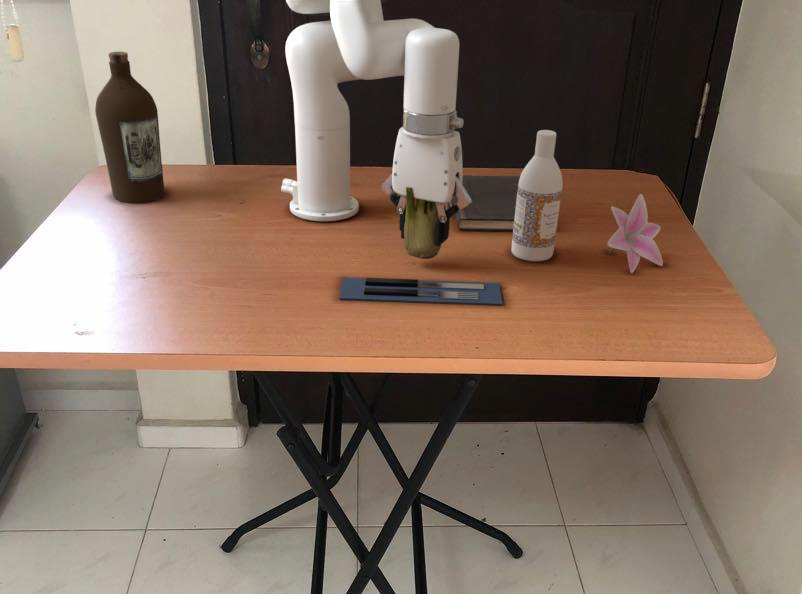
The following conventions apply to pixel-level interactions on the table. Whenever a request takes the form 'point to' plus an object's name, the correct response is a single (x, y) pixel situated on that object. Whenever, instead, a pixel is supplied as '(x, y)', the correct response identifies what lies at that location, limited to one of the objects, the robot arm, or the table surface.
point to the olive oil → (129, 135)
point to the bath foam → (538, 202)
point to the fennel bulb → (420, 227)
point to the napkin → (355, 291)
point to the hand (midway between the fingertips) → (423, 238)
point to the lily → (636, 235)
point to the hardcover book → (488, 203)
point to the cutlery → (421, 285)
